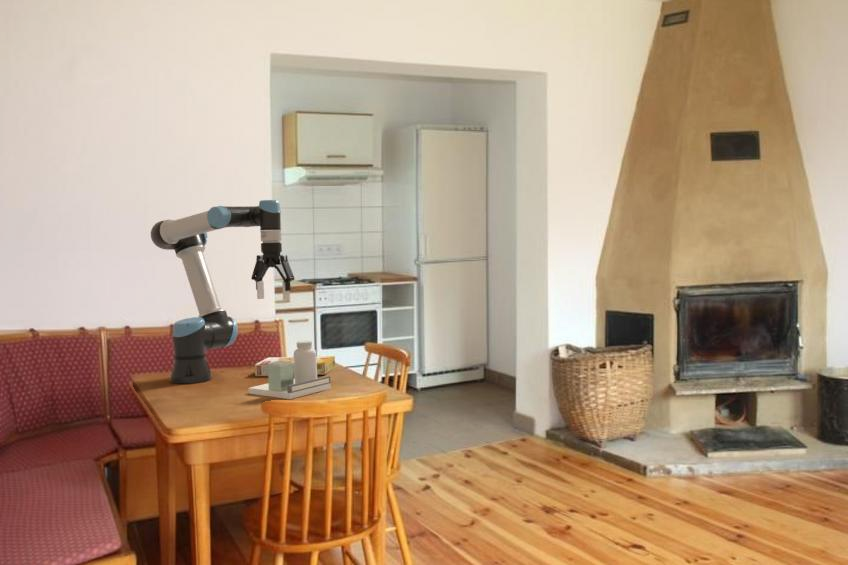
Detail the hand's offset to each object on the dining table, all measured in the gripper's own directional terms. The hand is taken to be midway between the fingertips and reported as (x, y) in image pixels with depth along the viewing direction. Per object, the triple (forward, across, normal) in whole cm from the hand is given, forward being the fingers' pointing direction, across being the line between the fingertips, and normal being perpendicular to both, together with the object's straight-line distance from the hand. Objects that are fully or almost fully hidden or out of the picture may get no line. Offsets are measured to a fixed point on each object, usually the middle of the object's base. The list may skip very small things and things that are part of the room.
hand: (273, 299), depth 306 cm
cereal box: (+31, -9, +19) cm, 38 cm away
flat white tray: (+31, +18, -11) cm, 37 cm away
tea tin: (+29, +20, -17) cm, 39 cm away
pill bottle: (+29, +21, -6) cm, 36 cm away
